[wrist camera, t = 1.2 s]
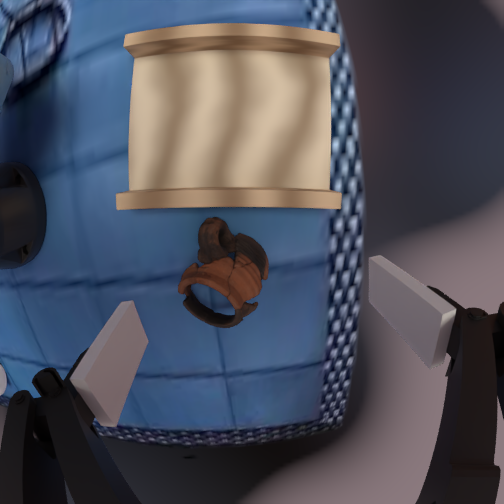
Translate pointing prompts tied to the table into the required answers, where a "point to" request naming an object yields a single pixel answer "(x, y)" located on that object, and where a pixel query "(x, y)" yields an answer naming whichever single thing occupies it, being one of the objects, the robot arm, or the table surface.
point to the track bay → (230, 117)
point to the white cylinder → (2, 380)
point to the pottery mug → (225, 272)
